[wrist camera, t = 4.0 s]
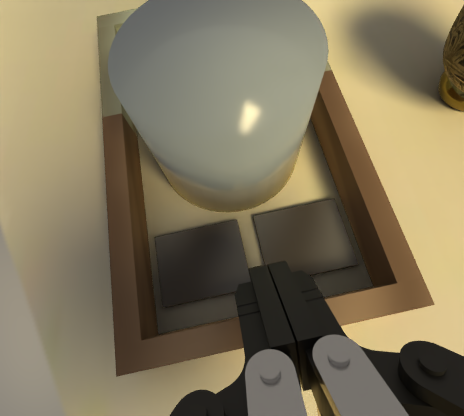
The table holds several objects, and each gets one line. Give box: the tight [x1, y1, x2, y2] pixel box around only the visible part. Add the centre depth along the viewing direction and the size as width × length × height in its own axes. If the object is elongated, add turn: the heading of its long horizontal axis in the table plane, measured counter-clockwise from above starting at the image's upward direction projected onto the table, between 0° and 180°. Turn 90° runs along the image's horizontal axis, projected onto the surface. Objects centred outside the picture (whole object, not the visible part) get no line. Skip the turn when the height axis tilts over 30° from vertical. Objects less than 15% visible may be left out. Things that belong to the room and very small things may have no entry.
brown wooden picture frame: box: [97, 8, 434, 377], centre depth 17 cm, size 14×23×2 cm, turn 12°
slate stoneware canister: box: [108, 0, 328, 212], centre depth 15 cm, size 9×9×8 cm
